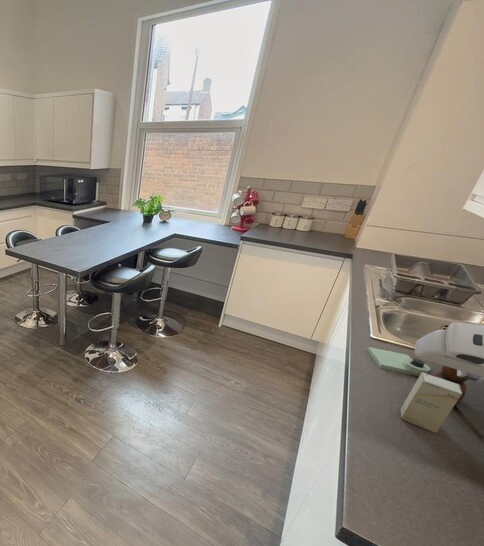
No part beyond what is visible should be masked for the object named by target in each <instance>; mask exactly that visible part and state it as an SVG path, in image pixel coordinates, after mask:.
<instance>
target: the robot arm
mask: <svg viewBox="0 0 484 546" xmlns="http://www.w3.org/2000/svg"><path fill="white" fill-rule="evenodd" d="M414 354H415V356H416V357H417V359H419V360H424V361H427V362H431V363H434V364H437V365H441V366H443V365H444V366H448V367H451V368H454V369H458V370H457V376H459V377H463V378H466V379H468V380H469V381H473V382H475V383H481V382H484V324H474V323H466V322H459V321H458V322H451V323H449V325H448V326H447V329H439V330H435V331H432V332H429V333H427V334H426V335H423V336H422V337H420V338H419V339H417V340H416V342H415V346H414Z"/></svg>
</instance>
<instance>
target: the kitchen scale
mask: <svg viewBox="0 0 484 546" xmlns="http://www.w3.org/2000/svg"><path fill="white" fill-rule="evenodd" d="M367 352H368V354H369V355H370V356H371V358H372V360H373V361H374V362H375V363H376V365H377V366H378V367H379V368H380V369H383V370H387V371H392V372H396V373H397V372H398V373H400V374H401V373H402V374H405V375H410V376H414V377H419V376H420V374H421V373H422V372H423V373H426V374H429V372H430V370H431V367H430V366H429V365H428V364H427V363H425V364H424V366H423V368H420V367H416V366H414V365H412V364H411V362H412V361H413V358H411V356H410V355H409V354H405V353H400V352H396V351H390V350H385V349H381V348H376V347H370V346H368V347H367Z"/></svg>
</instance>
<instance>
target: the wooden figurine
mask: <svg viewBox="0 0 484 546" xmlns="http://www.w3.org/2000/svg"><path fill="white" fill-rule="evenodd" d="M457 370H458V369H454V368H451V367H448V366H444V365H442V367H441V370H440V371H439V372H436V373H434V374H433V375H432V376H435V377H438V378H441V379H444V380H447V381H450V382H453V383H456V384H459V385H460V388H461V391H462V395H461V396H460V398H459V399H458V401H457V402H456V404H458V403H460V402H461V401H462V400H463V399H464V398H465V396H466V393H467V386H466V383H465V382H467V381H468V380H469V379H466V378H463V377H459V376H457Z"/></svg>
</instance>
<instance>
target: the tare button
mask: <svg viewBox="0 0 484 546" xmlns="http://www.w3.org/2000/svg"><path fill="white" fill-rule="evenodd" d="M412 360H413V361H412V362H411V364H412V365H414V366H416V367H420V368H423V366H424V364H426V363H425V361H423V360H422V359H420V358H412Z"/></svg>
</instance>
